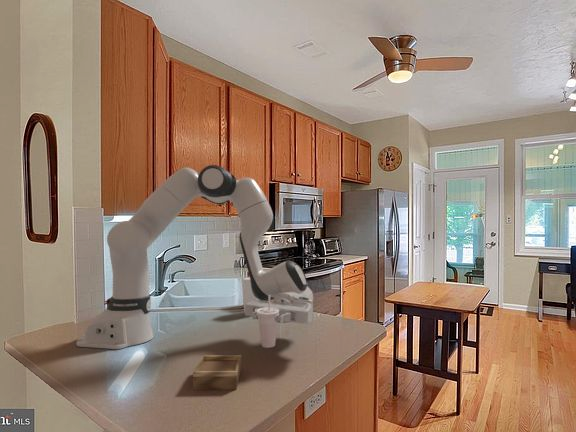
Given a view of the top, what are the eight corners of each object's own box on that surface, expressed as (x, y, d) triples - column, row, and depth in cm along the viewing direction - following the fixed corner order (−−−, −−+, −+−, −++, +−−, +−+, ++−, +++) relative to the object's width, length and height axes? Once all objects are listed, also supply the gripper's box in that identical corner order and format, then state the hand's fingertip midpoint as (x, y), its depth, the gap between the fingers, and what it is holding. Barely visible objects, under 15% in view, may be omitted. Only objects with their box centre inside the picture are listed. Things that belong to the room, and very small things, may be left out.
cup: (250, 310, 151) (251, 276, 151) (264, 312, 147) (264, 278, 147) (240, 314, 144) (241, 279, 145) (255, 316, 141) (255, 280, 141)
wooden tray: (192, 389, 78) (193, 372, 78) (202, 371, 88) (202, 355, 88) (236, 389, 79) (236, 371, 79) (241, 370, 89) (241, 355, 89)
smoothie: (277, 350, 91) (276, 298, 90) (254, 349, 92) (252, 298, 91) (282, 340, 97) (281, 292, 96) (260, 339, 98) (259, 291, 98)
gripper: (257, 293, 110) (234, 302, 98) (317, 299, 102) (300, 310, 89) (256, 313, 110) (233, 324, 97) (317, 321, 102) (300, 334, 89)
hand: (266, 317), depth 93 cm, fingers closed on smoothie, 6 cm apart
